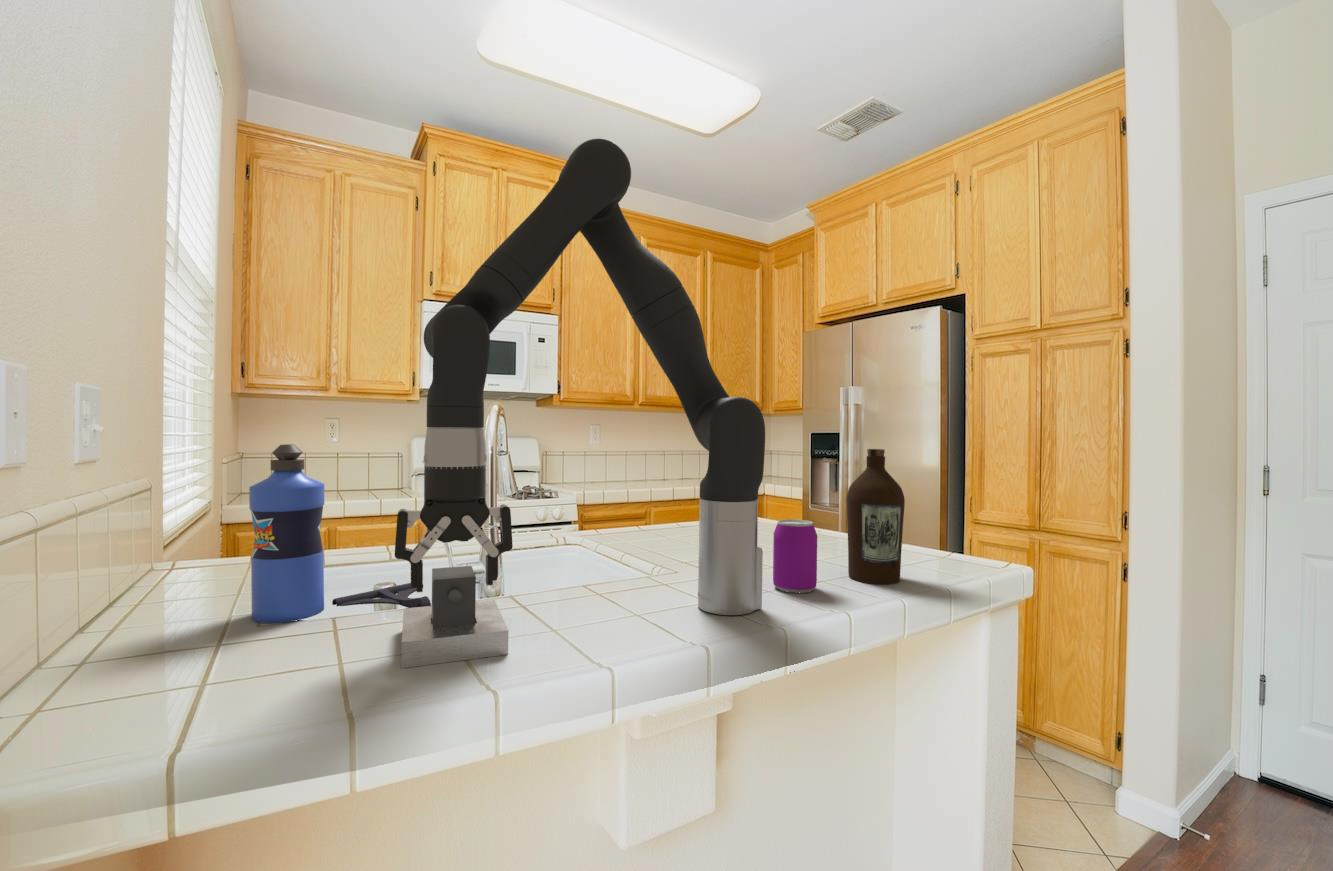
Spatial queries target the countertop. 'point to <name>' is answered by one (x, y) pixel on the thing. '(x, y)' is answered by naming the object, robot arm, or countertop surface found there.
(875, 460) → the olive oil
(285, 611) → the blue detergent bottle
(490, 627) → the socket plate
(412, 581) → the robot arm
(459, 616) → the plug
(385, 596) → the bracket
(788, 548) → the beverage can
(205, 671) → the countertop surface
